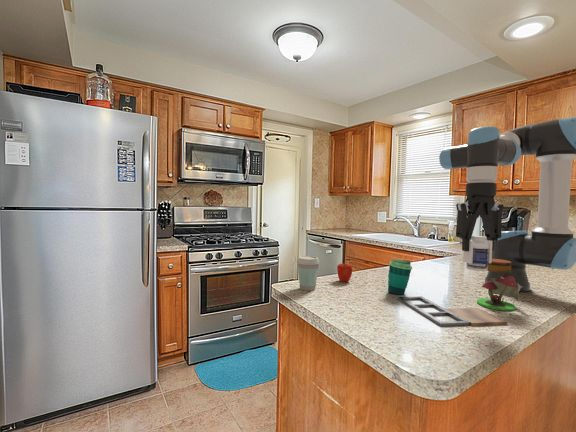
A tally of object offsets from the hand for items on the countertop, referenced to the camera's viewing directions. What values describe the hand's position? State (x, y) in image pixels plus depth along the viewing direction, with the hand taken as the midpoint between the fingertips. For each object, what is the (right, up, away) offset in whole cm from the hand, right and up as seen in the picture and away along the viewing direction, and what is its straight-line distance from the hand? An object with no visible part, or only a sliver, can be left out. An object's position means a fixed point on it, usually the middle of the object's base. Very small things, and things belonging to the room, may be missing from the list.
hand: (477, 262), depth 88 cm
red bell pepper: (-31, -14, +39) cm, 52 cm away
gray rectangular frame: (-11, -16, +6) cm, 20 cm away
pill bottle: (0, -2, 0) cm, 2 cm away
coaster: (0, -16, +1) cm, 16 cm away
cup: (-14, -15, +24) cm, 32 cm away
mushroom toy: (+14, -16, +12) cm, 25 cm away
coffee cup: (-48, -14, +27) cm, 57 cm away
